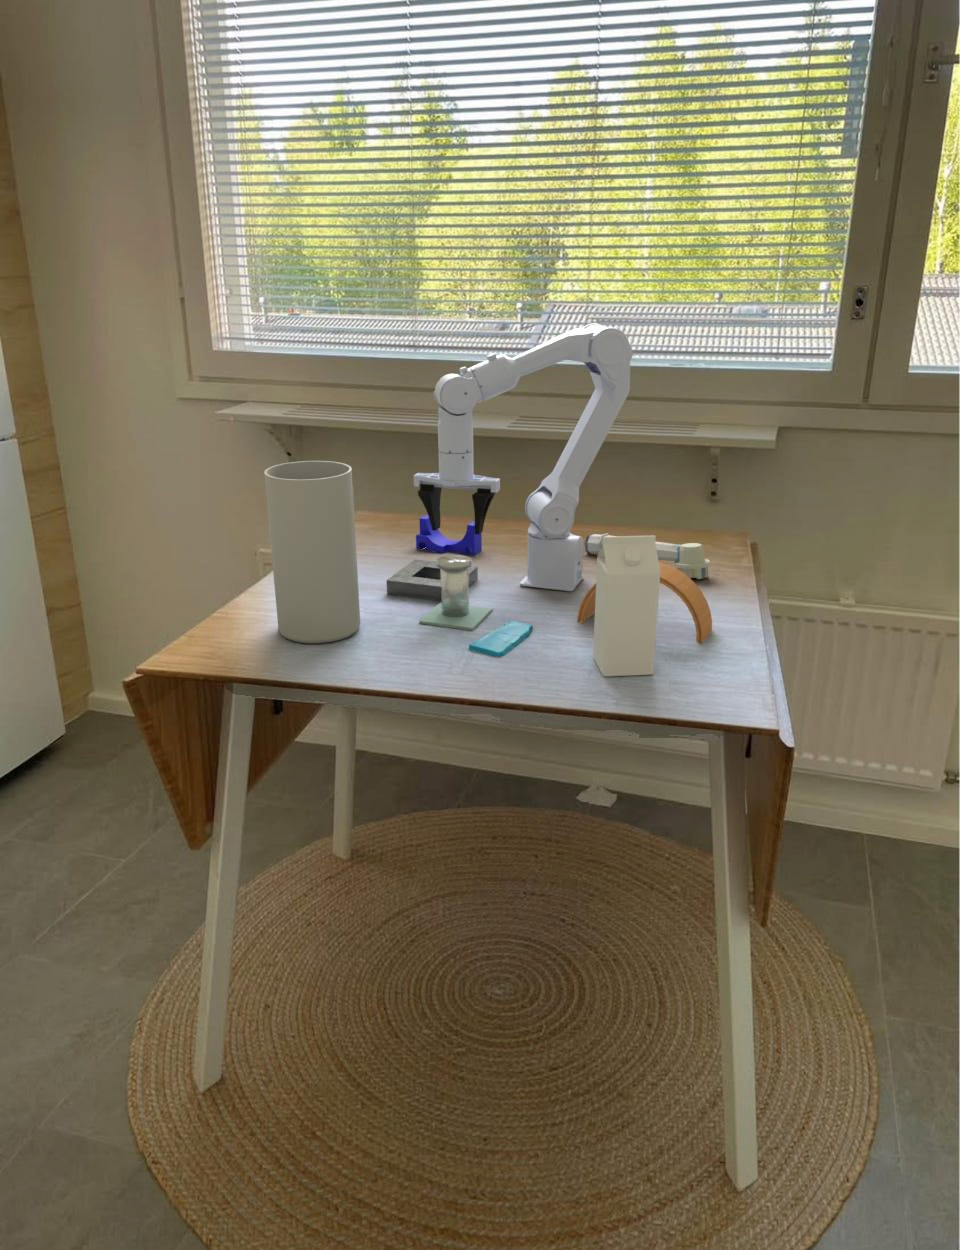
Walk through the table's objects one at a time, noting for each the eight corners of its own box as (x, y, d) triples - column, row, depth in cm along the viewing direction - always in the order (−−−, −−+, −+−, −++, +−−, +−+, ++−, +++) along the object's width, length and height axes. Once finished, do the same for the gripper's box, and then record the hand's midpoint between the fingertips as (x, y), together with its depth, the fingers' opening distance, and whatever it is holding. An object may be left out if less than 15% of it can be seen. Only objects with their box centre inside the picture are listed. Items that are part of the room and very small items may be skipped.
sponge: (544, 628, 147) (512, 616, 150) (499, 654, 138) (467, 641, 141) (543, 637, 148) (511, 625, 151) (498, 664, 139) (466, 650, 142)
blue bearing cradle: (416, 549, 188) (415, 520, 185) (427, 543, 191) (427, 514, 189) (470, 558, 183) (470, 527, 180) (481, 552, 186) (481, 522, 184)
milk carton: (592, 656, 139) (598, 529, 132) (641, 655, 139) (649, 528, 132) (602, 677, 132) (608, 545, 125) (653, 675, 133) (662, 543, 126)
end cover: (476, 608, 156) (475, 556, 153) (466, 619, 151) (465, 566, 148) (444, 605, 158) (443, 553, 154) (433, 616, 153) (432, 563, 150)
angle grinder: (597, 530, 186) (714, 537, 169) (600, 563, 188) (715, 573, 171) (581, 536, 182) (699, 543, 166) (584, 570, 184) (700, 581, 168)
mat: (492, 610, 156) (492, 608, 156) (473, 630, 148) (473, 628, 148) (441, 604, 159) (440, 601, 159) (419, 623, 151) (419, 620, 151)
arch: (590, 610, 156) (592, 551, 153) (712, 631, 148) (717, 569, 144) (576, 622, 152) (578, 562, 148) (702, 644, 143) (707, 581, 139)
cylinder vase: (377, 629, 149) (369, 469, 140) (310, 652, 141) (297, 484, 131) (327, 609, 157) (317, 457, 148) (262, 630, 149) (247, 470, 140)
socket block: (477, 579, 170) (477, 566, 169) (452, 602, 160) (452, 588, 159) (415, 572, 174) (414, 559, 173) (387, 594, 164) (386, 580, 163)
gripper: (405, 452, 156) (408, 533, 161) (490, 458, 151) (490, 541, 156) (421, 444, 162) (424, 522, 167) (504, 449, 158) (503, 529, 163)
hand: (457, 530), depth 162 cm, fingers open, 7 cm apart
